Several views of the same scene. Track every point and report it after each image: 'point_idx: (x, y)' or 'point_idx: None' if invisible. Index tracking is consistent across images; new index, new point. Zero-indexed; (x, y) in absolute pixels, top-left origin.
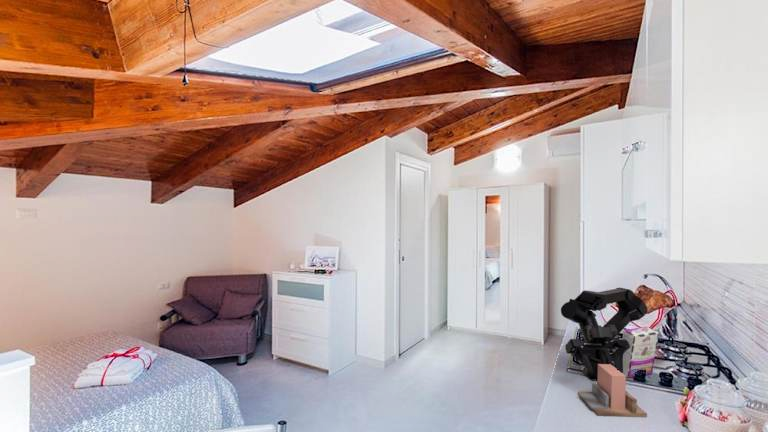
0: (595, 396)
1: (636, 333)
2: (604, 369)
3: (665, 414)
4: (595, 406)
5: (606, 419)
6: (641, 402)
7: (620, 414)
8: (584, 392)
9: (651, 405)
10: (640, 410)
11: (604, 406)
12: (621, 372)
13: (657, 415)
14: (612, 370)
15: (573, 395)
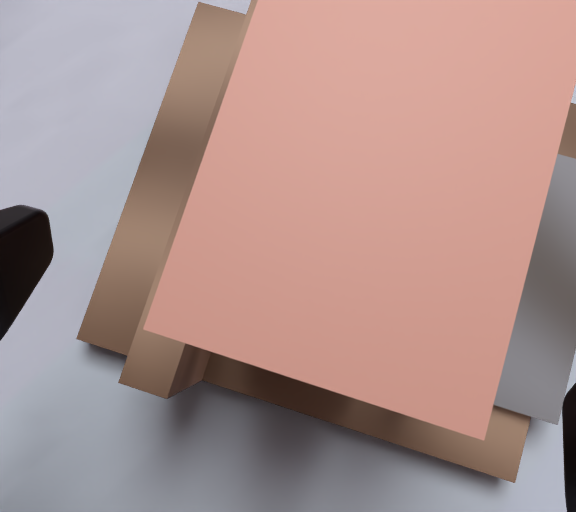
0: None
1: None
2: (563, 116)
3: (28, 17)
4: (572, 173)
5: None
6: (37, 201)
7: None
8: (461, 445)
9: (2, 143)
10: (206, 50)
11: None
12: (47, 219)
13: (101, 21)
14: (408, 26)
15: (559, 470)
